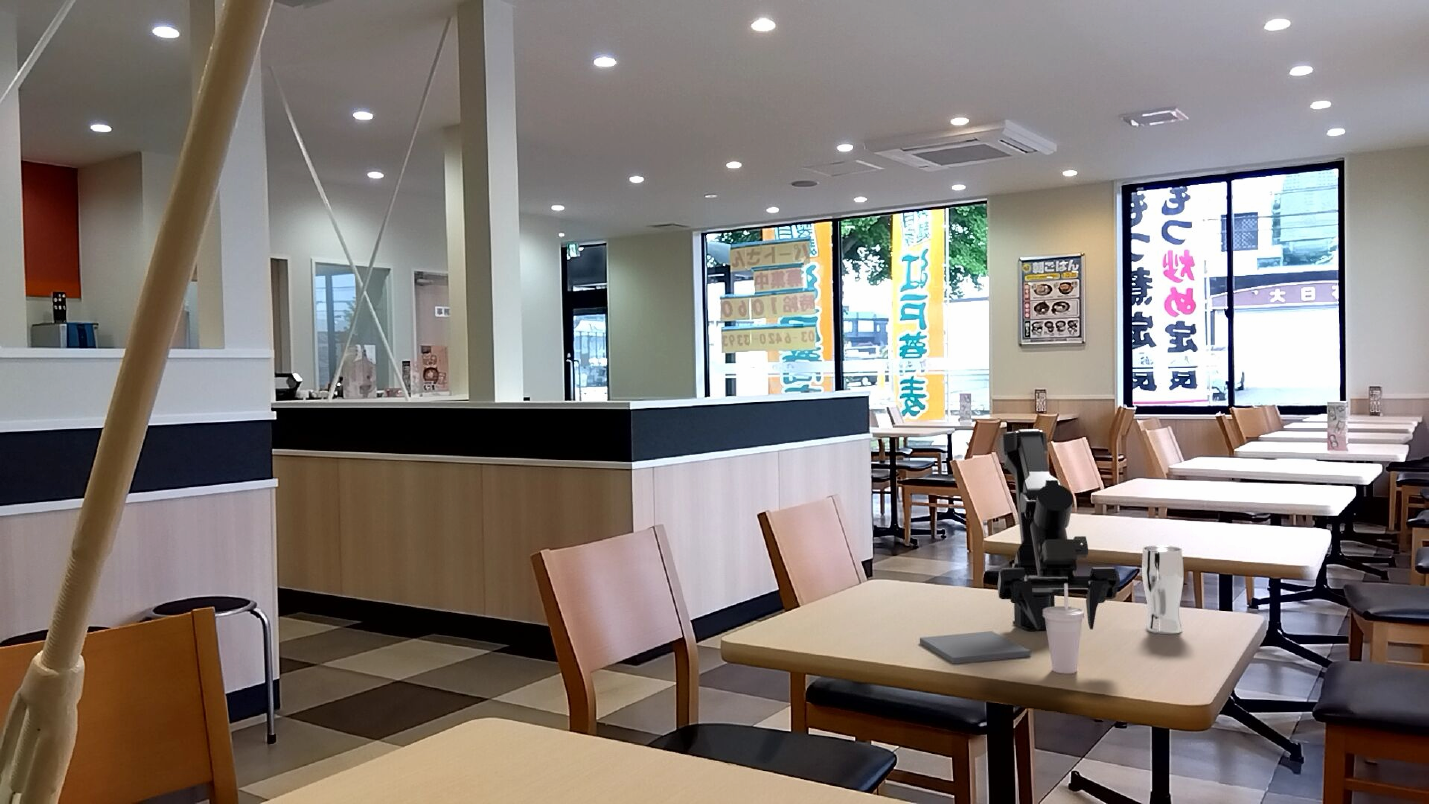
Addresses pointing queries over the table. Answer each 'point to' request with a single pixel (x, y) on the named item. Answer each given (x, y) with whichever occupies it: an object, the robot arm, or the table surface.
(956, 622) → the table surface
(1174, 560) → the beer glass
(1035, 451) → the robot arm
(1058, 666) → the smoothie
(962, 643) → the placemat
